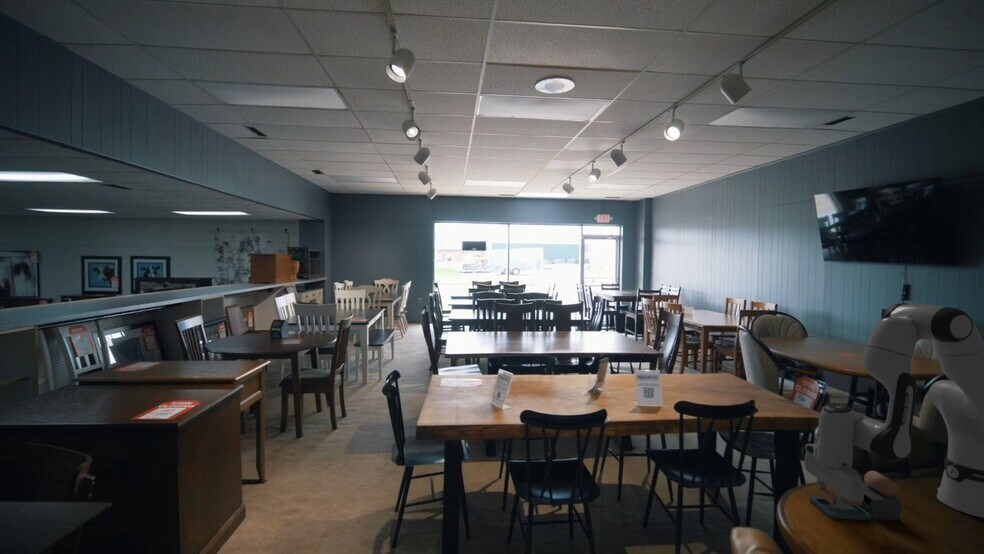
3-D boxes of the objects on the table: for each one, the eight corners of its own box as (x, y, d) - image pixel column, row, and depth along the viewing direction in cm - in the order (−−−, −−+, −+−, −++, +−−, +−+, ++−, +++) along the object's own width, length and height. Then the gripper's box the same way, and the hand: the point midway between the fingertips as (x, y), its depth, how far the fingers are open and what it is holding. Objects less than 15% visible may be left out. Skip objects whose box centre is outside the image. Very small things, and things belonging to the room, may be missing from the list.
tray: (847, 503, 142) (848, 498, 142) (871, 520, 133) (871, 515, 133) (809, 501, 142) (810, 497, 142) (830, 518, 133) (831, 513, 133)
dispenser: (874, 503, 142) (877, 469, 142) (899, 520, 133) (902, 483, 133) (849, 502, 142) (852, 468, 142) (872, 519, 133) (875, 482, 133)
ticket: (848, 496, 140) (849, 490, 140) (861, 505, 135) (862, 499, 135) (820, 495, 140) (820, 489, 140) (832, 504, 136) (832, 498, 135)
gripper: (872, 473, 127) (868, 520, 128) (820, 443, 147) (818, 483, 148) (849, 473, 127) (846, 519, 128) (801, 442, 147) (799, 482, 148)
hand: (830, 499), depth 138 cm, fingers closed on ticket, 5 cm apart
